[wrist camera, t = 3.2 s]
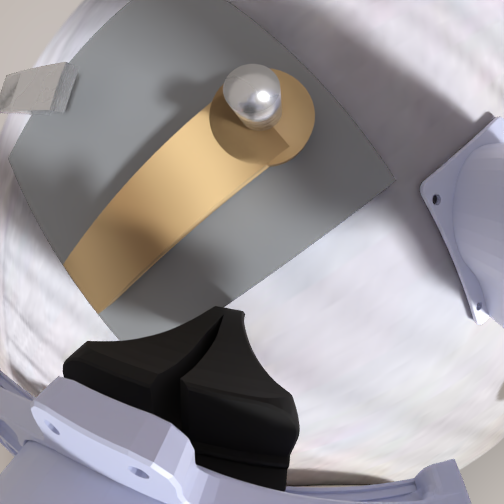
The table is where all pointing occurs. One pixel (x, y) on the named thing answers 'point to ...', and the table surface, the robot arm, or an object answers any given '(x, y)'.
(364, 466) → the table surface
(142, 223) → the link
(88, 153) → the base plate
